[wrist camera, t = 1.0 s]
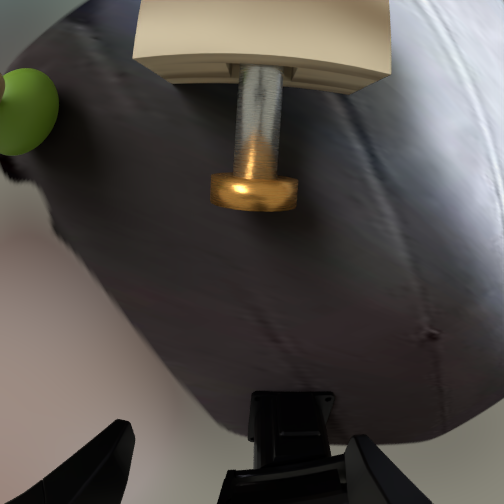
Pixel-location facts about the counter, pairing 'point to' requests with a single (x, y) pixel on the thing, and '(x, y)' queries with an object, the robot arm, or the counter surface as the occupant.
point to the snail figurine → (26, 110)
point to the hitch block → (267, 41)
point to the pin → (256, 147)
